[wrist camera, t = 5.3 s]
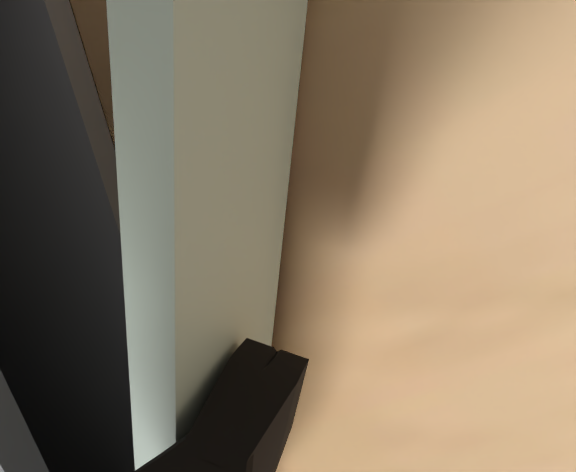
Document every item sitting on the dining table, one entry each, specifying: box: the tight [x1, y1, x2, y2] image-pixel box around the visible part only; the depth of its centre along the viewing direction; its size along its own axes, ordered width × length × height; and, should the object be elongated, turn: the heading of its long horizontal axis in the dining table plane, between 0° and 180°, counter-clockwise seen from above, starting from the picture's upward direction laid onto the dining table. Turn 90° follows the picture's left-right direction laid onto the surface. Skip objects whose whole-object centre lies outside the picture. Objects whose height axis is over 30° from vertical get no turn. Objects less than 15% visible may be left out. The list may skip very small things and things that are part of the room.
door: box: [106, 0, 308, 470], centre depth 11 cm, size 19×1×5 cm, turn 174°
